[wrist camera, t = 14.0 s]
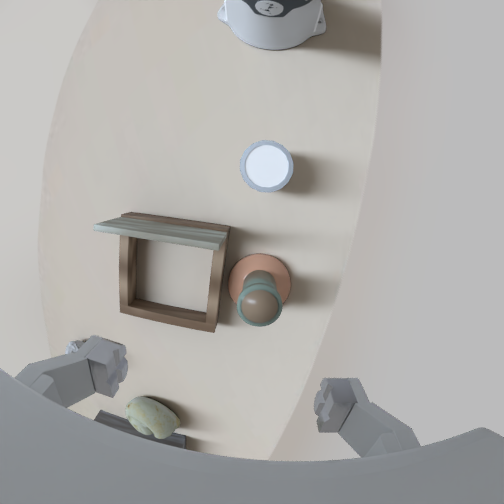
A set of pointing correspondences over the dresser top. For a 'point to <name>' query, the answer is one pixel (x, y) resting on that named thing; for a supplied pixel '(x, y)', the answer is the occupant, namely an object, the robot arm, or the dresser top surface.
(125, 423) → the display tray
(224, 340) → the dresser top surface
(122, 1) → the dresser top surface
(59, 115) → the dresser top surface
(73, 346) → the grey rock chunk
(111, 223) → the frame
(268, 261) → the pink round part
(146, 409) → the seashell
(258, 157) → the shot glass
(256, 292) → the plant pot
